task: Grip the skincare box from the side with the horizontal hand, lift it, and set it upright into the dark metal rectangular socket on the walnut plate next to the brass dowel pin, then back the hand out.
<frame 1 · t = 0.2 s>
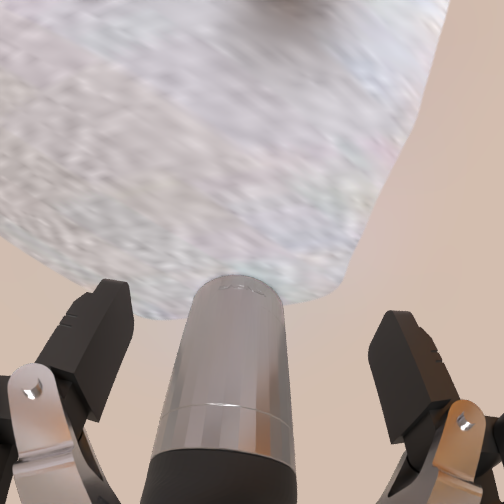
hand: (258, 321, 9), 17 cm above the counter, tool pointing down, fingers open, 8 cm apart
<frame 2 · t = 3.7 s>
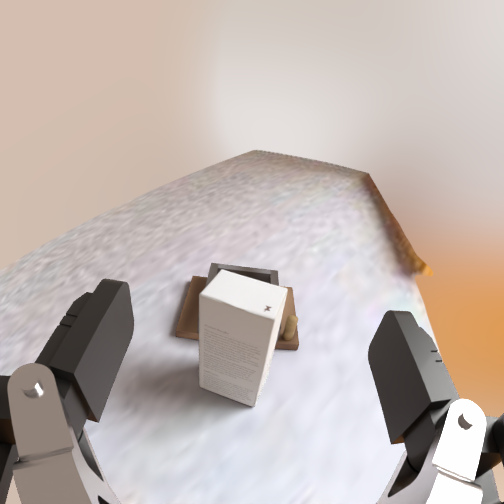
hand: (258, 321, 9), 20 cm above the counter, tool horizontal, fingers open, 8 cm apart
locating plate: (239, 313, 39), on the counter
skincare box: (233, 384, 30), on the counter
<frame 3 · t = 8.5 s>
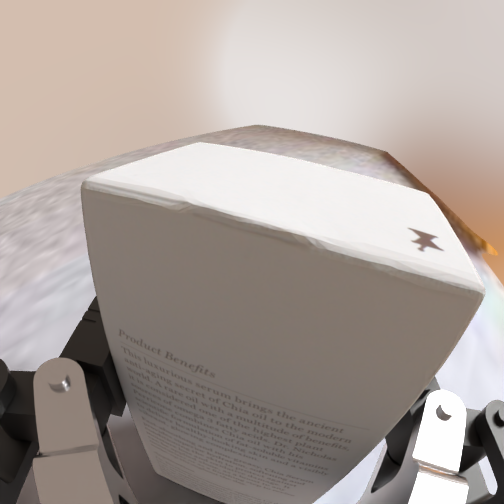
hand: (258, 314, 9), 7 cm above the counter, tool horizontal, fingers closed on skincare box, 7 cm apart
skincare box: (234, 464, 11), on the counter, touching gripper
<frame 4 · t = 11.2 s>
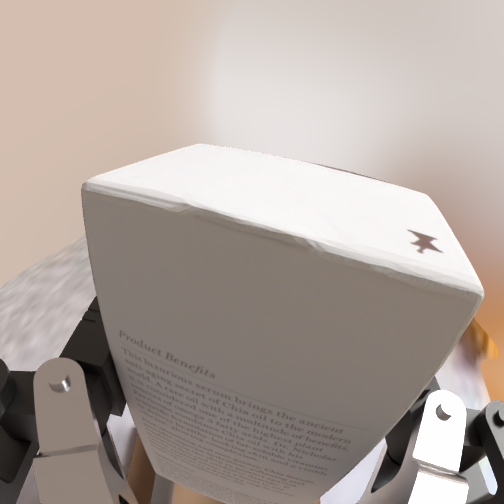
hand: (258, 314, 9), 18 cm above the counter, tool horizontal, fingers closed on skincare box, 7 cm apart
locating plate: (222, 501, 17), on the counter
skincare box: (234, 464, 11), point 10 cm above the counter, touching gripper
when the fingers open (10 cm above the counter, at t = 14.0 s): skincare box stays where it is, resting on locating plate.
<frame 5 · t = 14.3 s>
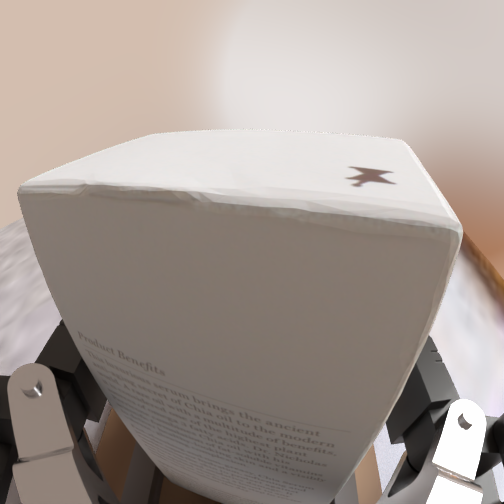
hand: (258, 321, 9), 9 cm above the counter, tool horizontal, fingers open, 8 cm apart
locating plate: (239, 480, 12), on the counter
skincare box: (253, 468, 10), point 3 cm above the counter, touching gripper, locating plate
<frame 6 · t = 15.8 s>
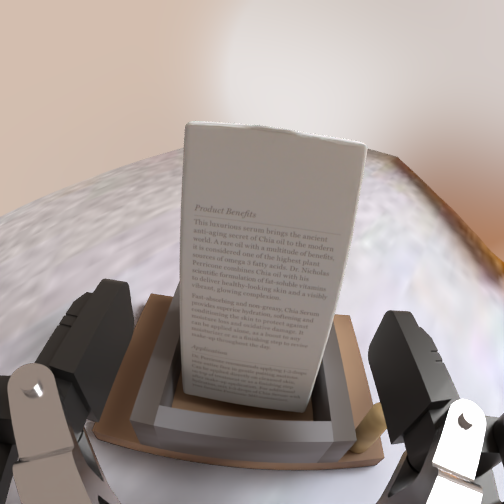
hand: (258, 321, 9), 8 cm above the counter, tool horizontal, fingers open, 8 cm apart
locating plate: (244, 380, 17), on the counter
skincare box: (247, 380, 15), point 1 cm above the counter, touching locating plate
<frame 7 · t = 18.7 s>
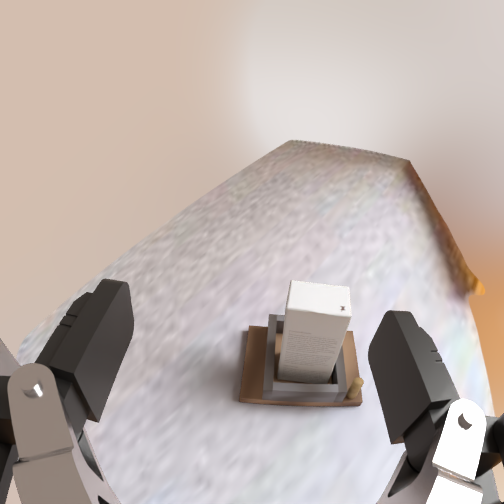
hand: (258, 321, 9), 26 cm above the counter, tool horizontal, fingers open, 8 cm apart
locating plate: (301, 367, 36), on the counter
skincare box: (302, 369, 35), point 1 cm above the counter, touching locating plate
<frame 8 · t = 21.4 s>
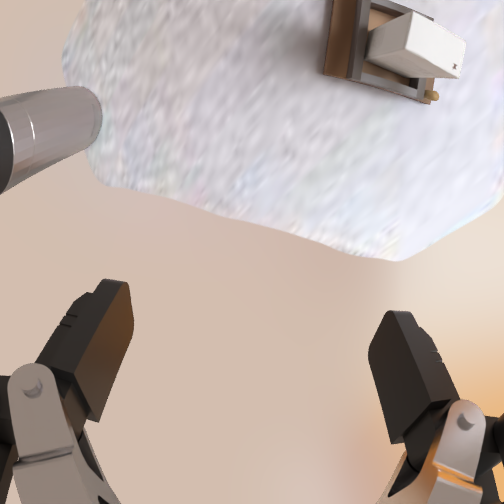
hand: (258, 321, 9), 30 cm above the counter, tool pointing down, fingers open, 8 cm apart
locating plate: (384, 47, 28), on the counter
skincare box: (386, 53, 28), point 1 cm above the counter, touching locating plate
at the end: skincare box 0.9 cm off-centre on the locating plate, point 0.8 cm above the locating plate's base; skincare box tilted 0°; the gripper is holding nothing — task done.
